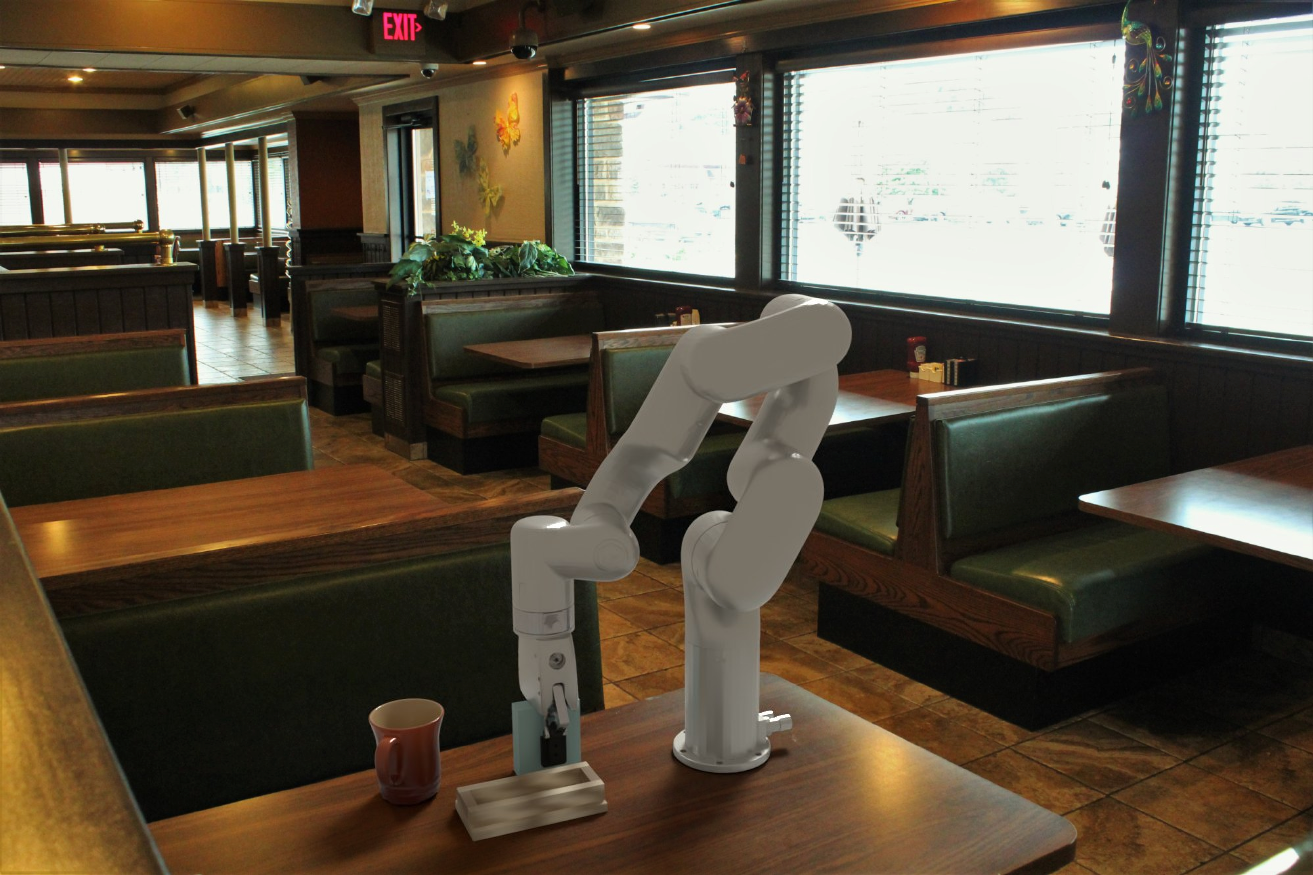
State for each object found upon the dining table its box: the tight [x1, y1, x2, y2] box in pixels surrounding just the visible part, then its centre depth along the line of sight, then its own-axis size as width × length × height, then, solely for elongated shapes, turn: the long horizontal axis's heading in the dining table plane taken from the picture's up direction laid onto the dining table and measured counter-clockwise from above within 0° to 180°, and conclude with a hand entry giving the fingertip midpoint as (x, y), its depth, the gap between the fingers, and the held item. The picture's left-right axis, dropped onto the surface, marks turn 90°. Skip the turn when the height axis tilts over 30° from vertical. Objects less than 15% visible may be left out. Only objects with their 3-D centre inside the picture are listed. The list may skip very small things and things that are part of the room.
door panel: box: [511, 697, 582, 776], centre depth 142 cm, size 8×3×9 cm, turn 114°
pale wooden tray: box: [454, 761, 609, 842], centre depth 132 cm, size 16×8×3 cm, turn 114°
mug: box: [368, 698, 445, 806], centre depth 134 cm, size 12×9×10 cm
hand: (547, 754), depth 142 cm, fingers open, 4 cm apart
